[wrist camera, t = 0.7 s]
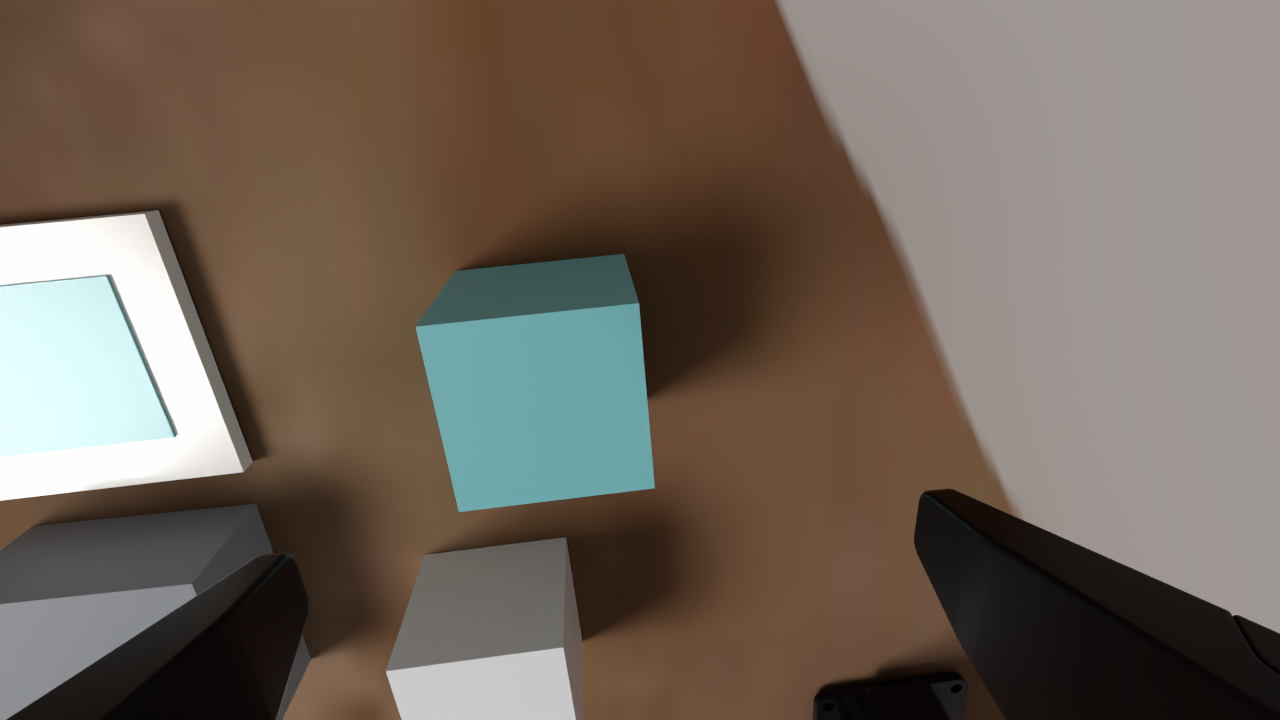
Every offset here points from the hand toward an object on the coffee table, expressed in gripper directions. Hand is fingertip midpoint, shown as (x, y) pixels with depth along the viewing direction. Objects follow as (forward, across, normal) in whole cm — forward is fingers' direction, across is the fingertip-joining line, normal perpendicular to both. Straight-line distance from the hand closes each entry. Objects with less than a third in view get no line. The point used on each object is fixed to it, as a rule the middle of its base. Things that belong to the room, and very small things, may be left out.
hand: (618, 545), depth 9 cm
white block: (+11, +4, +11) cm, 16 cm away
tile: (+11, +16, 0) cm, 19 cm away
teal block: (+11, +2, +1) cm, 11 cm away
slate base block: (+11, +15, +9) cm, 21 cm away
